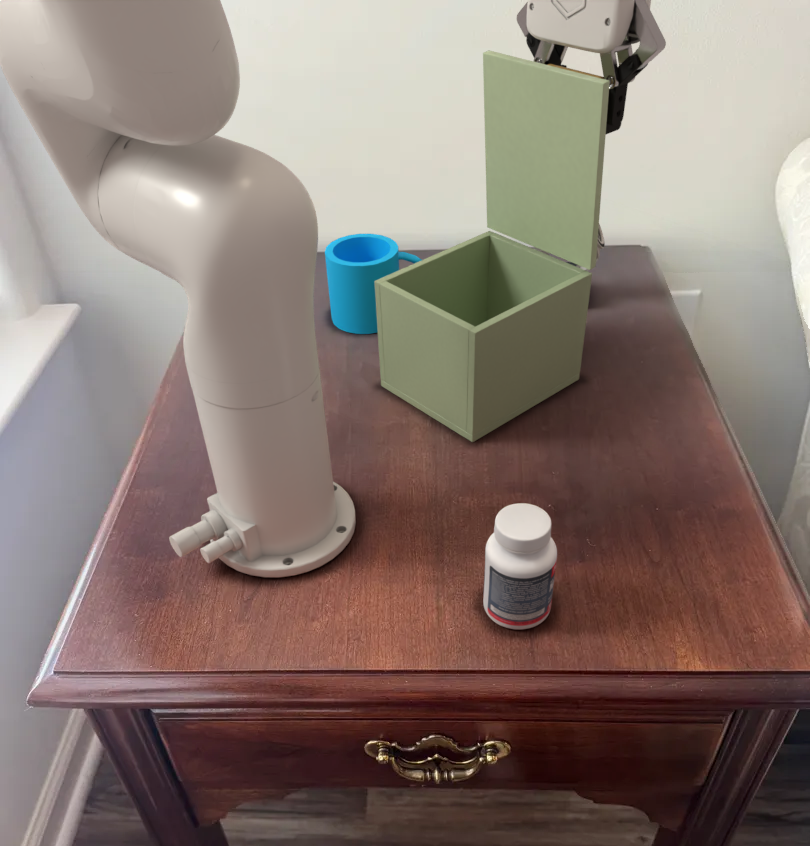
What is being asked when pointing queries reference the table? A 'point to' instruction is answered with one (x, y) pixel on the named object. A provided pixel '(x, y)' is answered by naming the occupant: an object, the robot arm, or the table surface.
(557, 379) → the chest
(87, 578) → the table surface
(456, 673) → the table surface
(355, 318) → the mug
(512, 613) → the pill bottle
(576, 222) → the lid
